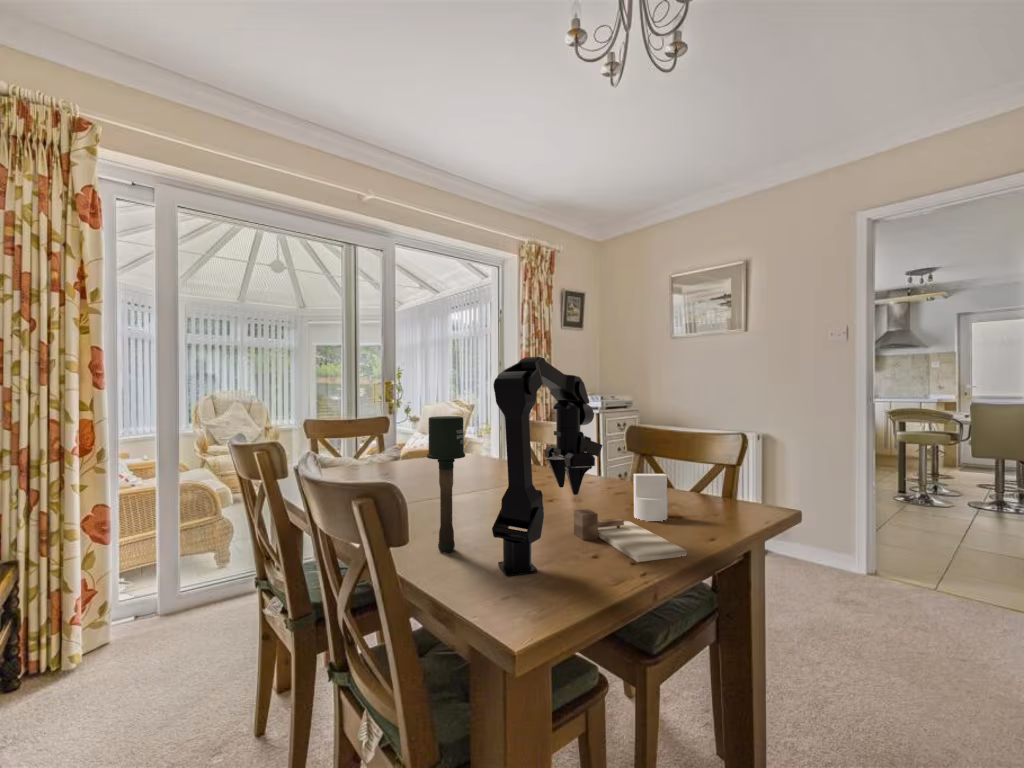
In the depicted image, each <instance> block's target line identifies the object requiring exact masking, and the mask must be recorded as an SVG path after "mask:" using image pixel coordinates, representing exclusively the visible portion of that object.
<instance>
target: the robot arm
mask: <svg viewBox="0 0 1024 768" xmlns="http://www.w3.org/2000/svg"><path fill="white" fill-rule="evenodd" d="M542 386H544V387H546V388H547V389H549V390H550V391H549V394H550V395H551V396H552V397H553V398H554V399H555V400H556V403H555V404H554V406H553V410H555V411H556V412H555V414H556V415H555V416H556V430H554V431H553V436H556V440H555V441H556V445H551V446H550V445H548V446H547V447H545V449H544V458H546V461H547V464H548V465H549V467H550V469H551V471H552V474H553V476H554V478H555V481H556V483H557V485H558V487H559V488H564V486H565V480H566V479H565V478H566V476H567V479H568V483H569V485H570V490H571V492H572V495H573V496H577V495H579V492H580V489H581V486H582V482H583V478H584V476H585V473H587V472H588V471H589V470H592V469H593V467H595V466H596V457H600V454H601V450H602V448H603V444H601V443H599V442H596V441H593V440H592V437H590V436H587V435H585V434H584V433H583V431H580V430H581V429H580V427H581V426H586V425H589V424H590V423H591V422H593V420H594V418H595V412H594V410H593V408H592V407H591V405H589V404H590V399H589V395H588V393H587V389H586V386H585V382H584V381H583V379H582V378H581V377H580V376H578V375H573V374H565V373H563V372H562V371H561V370H558V368H556V367H555V366H553V365H552V364H550V363H549V362H547V360H546V359H545V357H541V356H525V357H523V358H521V359H520V360H519V361H518V362H517V363H515V364H513V365H511V366H509V367H507V368H505V369H504V370H503V371H501V372H499V373H498V375H497V377H496V378H494V381H493V392H494V397H495V403H496V405H497V406H498V408H499V410H500V412H501V413H502V415H503V416H504V424H505V425H504V428H505V442H506V445H505V446H506V466H507V480H508V481H507V482H508V483H507V488H506V491H505V492H504V494H503V496H502V498H501V505H500V506H501V507H500V509H499V512H498V514H497V516H496V518H495V521H494V523H493V526H492V527H491V532H492V535H493V538H495V539H497V538H498V539H502V561H498V563H497V565H498V567H499V568H500V569H501V571H502V572H503V574H504V575H505V576H509V577H510V576H517V575H523V574H524V575H525V574H526V575H527V574H532V573H538V568H537V567H536V566H535V565H534V564H533V563H532V544H533V543H534V542H536V541H538V540H540V539H541V538H542V530H543V525H544V516H545V512H544V504H543V502H544V499H543V498H544V497H543V496H544V495H543V492H542V490H540V489H536V487H535V486H534V484H533V471H532V470H533V468H532V467H533V466H532V450H531V449H532V448H531V430H530V429H531V428H530V427H531V426H530V413H531V412H532V409H533V408H534V406H535V405H536V402H537V392H538V391H539V390H540V389H541V387H542ZM509 527H510V528H509ZM514 528H517V529H514ZM519 529H523V530H519ZM525 530H526V531H525Z"/></svg>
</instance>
